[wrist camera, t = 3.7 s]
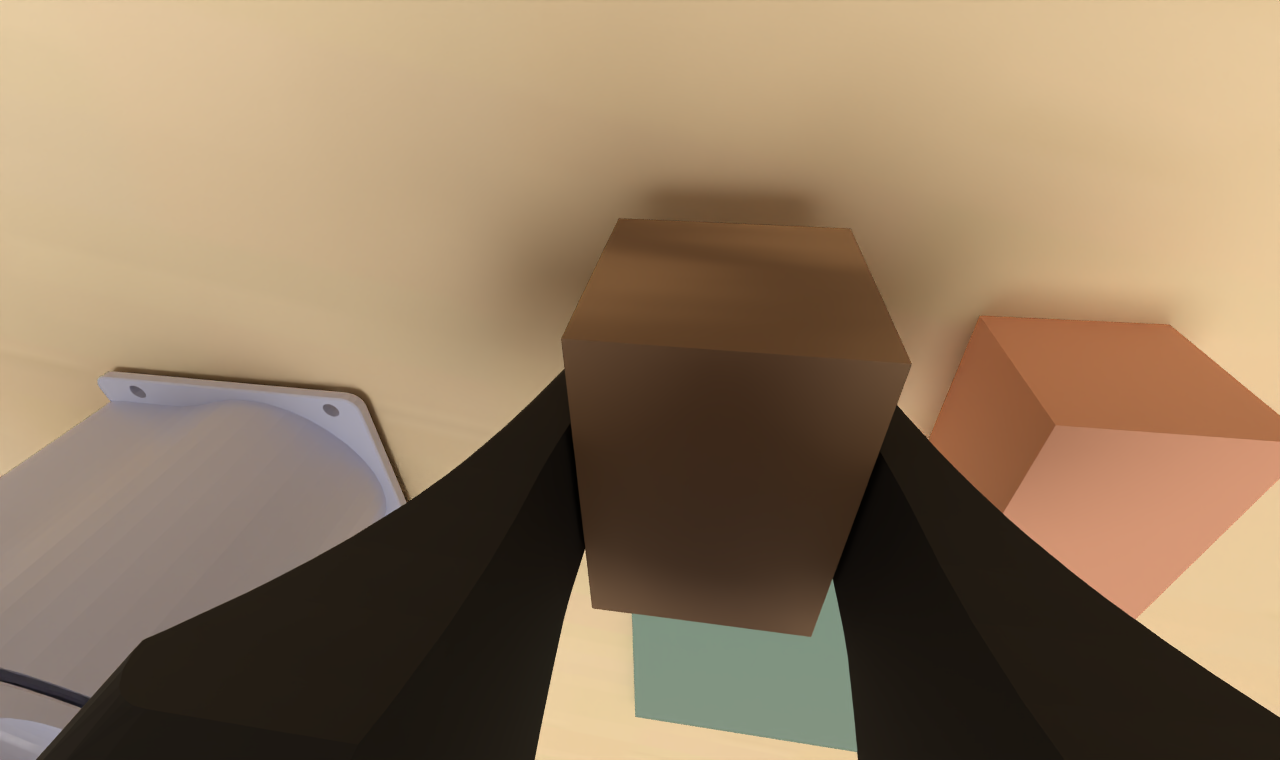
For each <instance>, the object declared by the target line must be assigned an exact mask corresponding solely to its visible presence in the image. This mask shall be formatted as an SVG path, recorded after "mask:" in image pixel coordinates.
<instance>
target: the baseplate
mask: <svg viewBox="0 0 1280 760" xmlns="http://www.w3.org/2000/svg"><path fill="white" fill-rule="evenodd" d="M632 626H633V656H634V687H635V717H640V718H646V719H653V720H659V721H665V722H671V723H678V724H684V725H690V726H697V727H703V728H709V729H715V730H722V731H728V732H734V733H741V734H747V735H753V736H759V737H766V738H772V739H778V740H785V741H791V742H797V743H803V744H810V745H816V746H822V747H828V748H835V749H841V750H847V751H854V752H857V743H856V732H855V721H854V711H853V702H852V692H851V683H850V674H849V665H848V656H847V649H846V643H845V637H844V631H843V626H842V621H841V616H840V611H839V607H838V602H837V597H836V592H835V588H834V583H833V579H832V582H831V584H830V587H829V590H828V593H827V595H826V598H825V601H824V603H823V606H822V609H821V612H820V614H819V617H818V620H817V622H816V625H815V628H814V631H813V633H812V636H811V637H806V636H799V635H791V634H784V633H776V632H768V631H761V630H753V629H746V628H738V627H731V626H723V625H715V624H708V623H700V622H693V621H685V620H678V619H670V618H662V617H655V616H647V615H640V614H632Z"/></svg>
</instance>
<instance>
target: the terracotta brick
mask: <svg viewBox="0 0 1280 760" xmlns="http://www.w3.org/2000/svg"><path fill="white" fill-rule="evenodd" d="M929 441H930V442H931V443H932V444H933V445H934V446H935V447H936V448H937V450H938V451H939V452H940V453H941V454H942V455H943V456H944V457H945V458H946V459H947V460H948V461H949V462H950V463H951V464H952V465H953V466H954V467H955V468H956V469H957V470H958V471H959V472H960V473H961V474H962V475H963V476H964V477H965V478H966V479H967V480H968V481H969V482H970V483H971V484H972V485H973V486H974V487H975V488H976V489H977V490H978V491H979V492H980V493H982V494H983V495H984V496H985V497H986V498H987V499H988V500H989V501H990V502H991V503H992V504H993V505H994V506H995V507H996V508H998V509H999V510H1000V511H1001V512H1002V513H1003V514H1004V515H1005V516H1006V517H1007V518H1008V519H1009V520H1011V521H1012V522H1013V523H1014V524H1015V525H1016V526H1017V527H1019V528H1020V529H1021V530H1022V531H1023V532H1024V533H1025V534H1027V535H1028V536H1029V537H1030V538H1031V539H1033V540H1034V541H1035V542H1036V543H1037V544H1039V545H1040V546H1041V547H1042V548H1043V549H1045V550H1046V551H1047V552H1048V553H1050V554H1051V555H1052V556H1053V557H1054V558H1056V559H1057V560H1058V561H1059V562H1061V563H1062V564H1063V565H1064V566H1065V567H1067V568H1068V569H1069V570H1070V571H1071V572H1073V573H1074V574H1075V575H1076V576H1078V577H1079V578H1080V579H1082V580H1083V581H1084V582H1086V583H1087V584H1088V585H1089V586H1091V587H1092V588H1093V589H1095V590H1096V591H1097V592H1099V593H1100V594H1101V595H1102V596H1104V597H1105V598H1106V599H1108V600H1109V601H1111V602H1112V603H1113V604H1115V605H1116V606H1117V607H1119V608H1120V609H1122V610H1123V611H1124V612H1126V613H1127V614H1128V615H1130V616H1131V617H1133V618H1134V619H1136V618H1137V617H1138V616H1139V615H1140V614H1141V613H1142V612H1143V611H1144V610H1145V609H1146V608H1147V607H1148V606H1150V605H1151V604H1152V603H1153V602H1154V601H1155V600H1156V599H1157V598H1158V597H1159V596H1160V595H1161V594H1162V593H1163V592H1164V591H1165V590H1166V589H1167V588H1168V587H1169V586H1170V585H1171V584H1172V583H1173V582H1174V581H1175V580H1176V579H1177V578H1178V577H1179V576H1180V575H1181V574H1182V573H1183V572H1184V571H1185V570H1186V569H1187V568H1188V567H1189V566H1190V565H1191V564H1193V563H1194V562H1195V561H1196V560H1197V559H1198V558H1199V557H1200V556H1201V555H1202V554H1203V553H1204V552H1205V551H1206V550H1207V549H1208V548H1209V547H1210V546H1211V545H1212V544H1213V543H1214V542H1215V541H1216V540H1217V539H1218V538H1219V537H1220V536H1221V535H1222V534H1223V533H1224V532H1225V531H1226V530H1227V529H1228V528H1229V527H1230V526H1231V525H1232V524H1233V523H1234V522H1235V521H1237V520H1238V519H1239V518H1240V517H1241V516H1242V515H1243V514H1244V513H1245V512H1246V511H1247V510H1248V509H1249V508H1250V507H1251V506H1252V505H1253V504H1254V503H1255V502H1256V501H1257V500H1258V499H1259V498H1260V497H1261V496H1262V495H1263V494H1264V493H1265V492H1266V491H1267V490H1268V489H1269V488H1270V487H1271V486H1272V485H1273V484H1274V483H1275V482H1276V481H1277V480H1278V479H1280V415H1278V414H1277V413H1276V412H1275V411H1274V410H1272V409H1271V408H1270V407H1269V406H1268V405H1266V404H1265V403H1264V402H1263V401H1261V400H1260V399H1259V398H1258V397H1257V396H1255V395H1254V394H1253V393H1252V392H1251V391H1249V390H1248V389H1247V388H1246V387H1245V386H1243V385H1242V384H1241V383H1240V382H1238V381H1237V380H1236V379H1235V378H1234V377H1232V376H1231V375H1230V374H1229V373H1228V372H1226V371H1225V370H1224V369H1223V368H1222V367H1220V366H1219V365H1218V364H1217V363H1215V362H1214V361H1213V360H1212V359H1211V358H1209V357H1208V356H1207V355H1206V354H1205V353H1203V352H1202V351H1201V350H1200V349H1198V348H1197V347H1196V346H1195V345H1194V344H1192V343H1191V342H1190V341H1189V340H1188V339H1186V338H1185V337H1184V336H1183V335H1182V334H1180V333H1179V332H1178V331H1177V330H1175V329H1174V328H1173V327H1172V326H1171V325H1164V324H1143V323H1122V322H1101V321H1080V320H1059V319H1038V318H1017V317H996V316H979V319H978V321H977V324H976V326H975V329H974V331H973V333H972V336H971V338H970V341H969V343H968V345H967V348H966V350H965V353H964V355H963V358H962V360H961V362H960V365H959V367H958V370H957V372H956V375H955V377H954V379H953V382H952V384H951V387H950V389H949V391H948V394H947V396H946V399H945V401H944V404H943V406H942V408H941V411H940V413H939V416H938V418H937V421H936V423H935V425H934V428H933V430H932V433H931V435H930V438H929Z"/></svg>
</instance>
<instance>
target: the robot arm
mask: <svg viewBox="0 0 1280 760" xmlns="http://www.w3.org/2000/svg"><path fill="white" fill-rule="evenodd" d="M97 381H98V386H99V387H100V389H101V390H102V391H103V393H104V394H105V395H106V396H107V398H108V399H109V400H110V401H111V402H109V403H108V404H106V405H105V406H103V407H102V408H101V409H99V410H98V411H96V412H95V413H93V414H92V415H90V416H89V417H87V418H86V419H84V420H83V421H82V422H80V423H79V424H77V425H76V426H74V427H73V428H71V429H70V430H68V431H67V432H66V433H64V434H63V435H61V436H60V437H58V438H57V439H55V440H54V441H52V442H51V443H49V444H48V445H47V446H45V447H44V448H42V449H41V450H39V451H38V452H36V453H35V454H33V455H32V456H30V457H29V458H28V459H26V460H25V461H23V462H22V463H20V464H19V465H17V466H16V467H14V468H13V469H11V470H10V471H9V472H7V473H6V474H4V475H3V476H1V477H0V760H535V755H536V750H537V744H538V739H539V734H540V729H541V724H542V719H543V714H544V709H545V705H546V700H547V695H548V690H549V685H550V680H551V675H552V671H553V666H554V661H555V657H556V652H557V648H558V643H559V638H560V634H561V629H562V625H563V620H564V616H565V612H566V609H567V605H568V601H569V598H570V594H571V591H572V588H573V585H574V582H575V578H576V575H577V572H578V569H579V566H580V563H581V560H582V557H583V554H584V550H585V541H584V533H583V524H582V515H581V506H580V498H579V489H578V480H577V472H576V463H575V454H574V445H573V437H572V428H571V419H570V411H569V402H568V393H567V385H566V376H565V369H564V370H563V371H562V372H561V373H560V374H559V375H558V376H557V377H556V378H555V379H554V380H553V381H552V382H551V383H550V384H549V385H548V386H547V387H546V388H545V389H544V390H543V391H542V392H541V393H540V394H539V395H538V396H537V397H536V398H535V399H534V400H533V401H532V402H531V403H530V404H529V405H527V406H526V407H525V408H524V409H523V410H522V411H521V412H520V413H519V414H518V415H517V416H516V417H515V418H514V419H513V420H512V421H510V422H509V423H508V424H507V425H506V426H505V427H504V428H503V429H502V430H501V431H499V432H498V433H497V434H496V435H495V436H494V437H492V438H491V439H490V440H489V441H488V442H486V443H485V444H484V445H483V446H482V447H481V448H479V449H478V450H477V451H476V452H475V453H473V454H472V455H471V456H470V457H469V458H468V459H466V460H465V461H464V462H463V463H461V464H460V465H459V466H457V467H456V468H455V469H454V470H452V471H451V472H450V473H448V474H447V475H446V476H444V477H443V478H442V479H440V480H439V481H437V482H436V483H435V484H433V485H432V486H430V487H429V488H428V489H426V490H425V491H423V492H422V493H421V494H419V495H418V496H416V497H415V498H413V499H412V500H410V501H409V502H406V500H405V497H404V495H403V493H402V490H401V488H400V485H399V483H398V481H397V478H396V476H395V473H394V471H393V469H392V466H391V464H390V461H389V459H388V457H387V454H386V452H385V450H384V447H383V445H382V442H381V440H380V438H379V435H378V433H377V430H376V428H375V426H374V423H373V421H372V418H371V416H370V414H369V411H368V409H367V406H366V405H365V403H364V401H363V400H362V399H360V398H359V397H358V396H356V395H354V394H351V393H345V392H335V391H324V390H313V389H302V388H291V387H280V386H269V385H258V384H247V383H236V382H225V381H214V380H203V379H192V378H181V377H170V376H159V375H148V374H137V373H126V372H115V371H110V372H107V373H105V374H104V375H102V376H100V377H99V378H98V379H97ZM833 583H834V588H835V592H836V597H837V602H838V607H839V611H840V616H841V621H842V626H843V631H844V637H845V643H846V649H847V656H848V665H849V674H850V683H851V692H852V702H853V711H854V721H855V732H856V743H857V754H858V760H1280V717H1278V716H1277V715H1275V714H1274V713H1272V712H1271V711H1269V710H1267V709H1266V708H1264V707H1263V706H1261V705H1260V704H1258V703H1257V702H1255V701H1254V700H1252V699H1251V698H1249V697H1248V696H1246V695H1244V694H1243V693H1241V692H1240V691H1238V690H1237V689H1235V688H1234V687H1232V686H1231V685H1229V684H1228V683H1226V682H1224V681H1223V680H1221V679H1220V678H1218V677H1217V676H1215V675H1214V674H1212V673H1211V672H1209V671H1208V670H1206V669H1205V668H1204V667H1202V666H1201V665H1199V664H1198V663H1196V662H1195V661H1193V660H1192V659H1190V658H1189V657H1187V656H1186V655H1185V654H1183V653H1182V652H1180V651H1179V650H1177V649H1176V648H1174V647H1173V646H1171V645H1170V644H1168V643H1167V642H1166V641H1164V640H1163V639H1161V638H1160V637H1159V636H1157V635H1156V634H1155V633H1153V632H1152V631H1150V630H1149V629H1148V628H1146V627H1145V626H1144V625H1142V624H1141V623H1139V622H1138V621H1137V620H1135V619H1134V618H1133V617H1131V616H1130V615H1128V614H1127V613H1126V612H1124V611H1123V610H1122V609H1120V608H1119V607H1117V606H1116V605H1115V604H1113V603H1112V602H1111V601H1109V600H1108V599H1106V598H1105V597H1104V596H1102V595H1101V594H1100V593H1099V592H1097V591H1096V590H1095V589H1093V588H1092V587H1091V586H1089V585H1088V584H1087V583H1086V582H1084V581H1083V580H1082V579H1080V578H1079V577H1078V576H1076V575H1075V574H1074V573H1073V572H1071V571H1070V570H1069V569H1068V568H1067V567H1065V566H1064V565H1063V564H1062V563H1061V562H1059V561H1058V560H1057V559H1056V558H1054V557H1053V556H1052V555H1051V554H1050V553H1048V552H1047V551H1046V550H1045V549H1043V548H1042V547H1041V546H1040V545H1039V544H1037V543H1036V542H1035V541H1034V540H1033V539H1031V538H1030V537H1029V536H1028V535H1027V534H1025V533H1024V532H1023V531H1022V530H1021V529H1020V528H1019V527H1017V526H1016V525H1015V524H1014V523H1013V522H1012V521H1011V520H1009V519H1008V518H1007V517H1006V516H1005V515H1004V514H1003V513H1002V512H1001V511H1000V510H999V509H998V508H996V507H995V506H994V505H993V504H992V503H991V502H990V501H989V500H988V499H987V498H986V497H985V496H984V495H983V494H982V493H980V492H979V491H978V490H977V489H976V488H975V487H974V486H973V485H972V484H971V483H970V482H969V481H968V480H967V479H966V478H965V477H964V476H963V475H962V474H961V473H960V472H959V471H958V470H957V469H956V468H955V467H954V466H953V465H952V464H951V463H950V462H949V461H948V460H947V459H946V458H945V457H944V456H943V455H942V454H941V453H940V452H939V451H938V450H937V448H936V447H935V446H934V445H933V444H932V443H931V442H930V441H929V440H928V439H927V438H926V437H925V436H924V435H923V433H922V432H921V431H920V430H919V429H918V428H917V427H916V426H915V425H914V424H913V422H912V421H911V420H910V419H909V418H908V417H907V416H906V415H905V414H904V413H903V411H902V410H901V409H900V408H899V407H898V406H897V405H896V408H895V411H894V413H893V416H892V419H891V421H890V424H889V427H888V430H887V432H886V435H885V438H884V440H883V443H882V446H881V449H880V451H879V454H878V457H877V459H876V462H875V465H874V468H873V470H872V473H871V476H870V478H869V481H868V484H867V487H866V489H865V492H864V495H863V498H862V500H861V503H860V506H859V508H858V511H857V514H856V517H855V519H854V522H853V525H852V527H851V530H850V533H849V536H848V538H847V541H846V544H845V546H844V549H843V552H842V555H841V557H840V560H839V563H838V565H837V568H836V571H835V574H834V576H833Z"/></svg>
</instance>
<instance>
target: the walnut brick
mask: <svg viewBox="0 0 1280 760" xmlns="http://www.w3.org/2000/svg"><path fill="white" fill-rule="evenodd" d="M561 341H562V350H563V358H564V367H565V376H566V385H567V393H568V402H569V411H570V419H571V428H572V437H573V445H574V454H575V463H576V472H577V480H578V489H579V498H580V506H581V515H582V524H583V533H584V541H585V550H586V559H587V567H588V576H589V585H590V593H591V602H592V608H594V609H602V610H609V611H617V612H624V613H632V614H640V615H647V616H655V617H662V618H670V619H678V620H685V621H693V622H700V623H708V624H715V625H723V626H731V627H738V628H746V629H753V630H761V631H768V632H776V633H784V634H791V635H799V636H806V637H811V636H812V633H813V631H814V628H815V625H816V622H817V620H818V617H819V614H820V612H821V609H822V606H823V603H824V601H825V598H826V595H827V593H828V590H829V587H830V584H831V582H832V579H833V576H834V574H835V571H836V568H837V565H838V563H839V560H840V557H841V555H842V552H843V549H844V546H845V544H846V541H847V538H848V536H849V533H850V530H851V527H852V525H853V522H854V519H855V517H856V514H857V511H858V508H859V506H860V503H861V500H862V498H863V495H864V492H865V489H866V487H867V484H868V481H869V478H870V476H871V473H872V470H873V468H874V465H875V462H876V459H877V457H878V454H879V451H880V449H881V446H882V443H883V440H884V438H885V435H886V432H887V430H888V427H889V424H890V421H891V419H892V416H893V413H894V411H895V408H896V405H897V402H898V400H899V397H900V394H901V392H902V389H903V386H904V383H905V381H906V378H907V375H908V373H909V370H910V367H911V364H912V363H911V361H910V359H909V357H908V355H907V352H906V350H905V348H904V346H903V344H902V341H901V339H900V337H899V335H898V333H897V330H896V328H895V326H894V324H893V322H892V319H891V317H890V315H889V313H888V310H887V308H886V306H885V304H884V302H883V299H882V297H881V295H880V293H879V291H878V288H877V286H876V284H875V282H874V280H873V277H872V275H871V273H870V271H869V268H868V266H867V264H866V262H865V260H864V257H863V255H862V253H861V251H860V249H859V246H858V244H857V242H856V240H855V238H854V235H853V233H852V231H851V229H847V228H824V227H802V226H779V225H757V224H734V223H712V222H689V221H667V220H644V219H622V218H619V219H618V221H617V223H616V225H615V227H614V229H613V232H612V234H611V236H610V238H609V240H608V242H607V244H606V246H605V248H604V250H603V252H602V255H601V257H600V259H599V261H598V263H597V265H596V267H595V269H594V271H593V273H592V275H591V277H590V280H589V282H588V284H587V286H586V288H585V290H584V292H583V294H582V296H581V298H580V300H579V303H578V305H577V307H576V309H575V311H574V313H573V315H572V317H571V319H570V321H569V323H568V326H567V328H566V330H565V332H564V334H563V336H562V338H561Z"/></svg>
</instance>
